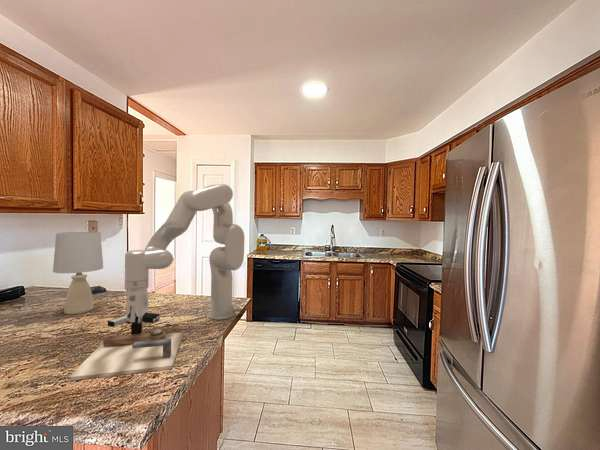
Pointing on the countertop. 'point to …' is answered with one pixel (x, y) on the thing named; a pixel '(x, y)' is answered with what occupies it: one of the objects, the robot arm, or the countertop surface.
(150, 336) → the walnut link
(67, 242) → the lamp
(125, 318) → the toy gun
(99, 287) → the disk drive
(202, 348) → the countertop surface
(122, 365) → the hinge board
